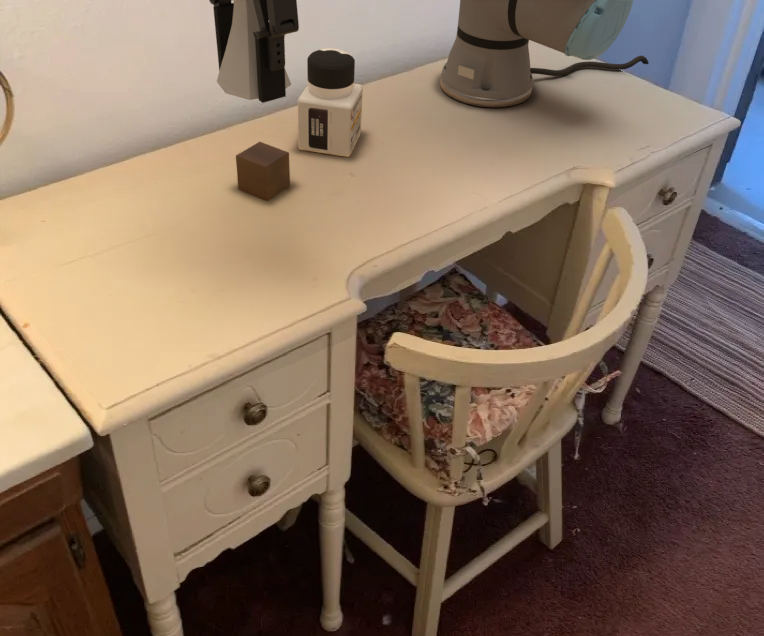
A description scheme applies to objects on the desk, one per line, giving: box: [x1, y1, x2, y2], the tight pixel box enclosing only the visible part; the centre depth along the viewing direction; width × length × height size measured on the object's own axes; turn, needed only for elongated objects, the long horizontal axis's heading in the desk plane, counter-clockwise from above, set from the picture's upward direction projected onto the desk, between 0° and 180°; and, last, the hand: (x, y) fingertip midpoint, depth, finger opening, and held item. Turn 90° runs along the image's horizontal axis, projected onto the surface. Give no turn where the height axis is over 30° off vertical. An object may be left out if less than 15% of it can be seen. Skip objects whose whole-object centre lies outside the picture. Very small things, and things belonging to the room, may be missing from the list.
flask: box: [216, 0, 292, 101], centre depth 82 cm, size 7×7×10 cm
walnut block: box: [235, 141, 291, 202], centre depth 111 cm, size 5×5×5 cm
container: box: [297, 47, 364, 158], centre depth 119 cm, size 8×8×13 cm
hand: (251, 83), depth 86 cm, fingers closed on flask, 7 cm apart
